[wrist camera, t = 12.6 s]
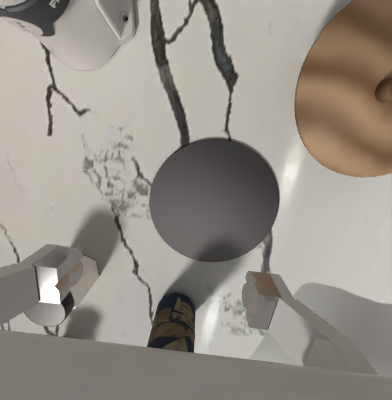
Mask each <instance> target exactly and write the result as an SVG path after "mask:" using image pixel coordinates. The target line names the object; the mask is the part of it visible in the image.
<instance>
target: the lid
mask: <svg viewBox="0 0 392 400" xmlns="http://www.w3.org/2000/svg"><path fill="white" fill-rule="evenodd" d="M295 118H296V125H297V128H298V132H299V135H300V137H301V139H302V142H303V144H304V145H305V147H306V148H307V150H308V152H309V153H310V154H311V155H312V156H313V157H314V158H315V159H316V160H317V161H318V162H319V163H321V164H322V165H323V166H325V167H327V168H328V169H330V170H332V171H335V172H338V173H340V174H345V175H349V176H355V177H375V176H381V175H386V174H389V173H392V0H353V1H352V2H350V3H349V4H348V5H347V6H346V7H345V8H344V9H343V10H341V11H340V12H339V13H338V14H337V15H336V16H335V17H334V18H333V19H332V20H331V21H330V22H329V23H328V24H327V26H326V27H325V28H324V29H323V31H322V32H321V33H320V35H319V36H318V37H317V39H316V40H315V42H314V44H313V45H312V47H311V49H310V50H309V52H308V54H307V56H306V59H305V61H304V63H303V65H302V68H301V71H300V74H299V77H298V82H297V87H296V93H295Z"/></svg>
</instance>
